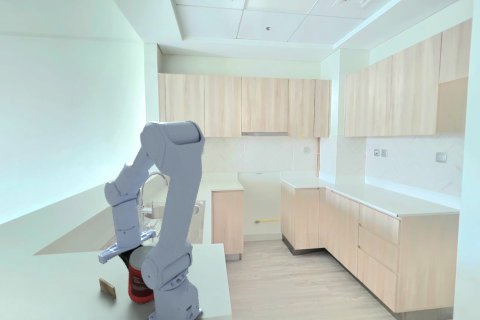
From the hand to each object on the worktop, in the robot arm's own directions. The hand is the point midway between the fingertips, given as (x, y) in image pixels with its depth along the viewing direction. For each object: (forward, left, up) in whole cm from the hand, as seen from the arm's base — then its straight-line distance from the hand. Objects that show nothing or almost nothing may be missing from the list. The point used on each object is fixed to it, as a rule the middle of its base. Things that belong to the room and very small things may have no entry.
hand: (133, 273), depth 60 cm
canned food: (-4, 0, -4) cm, 5 cm away
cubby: (+5, 0, -4) cm, 7 cm away
